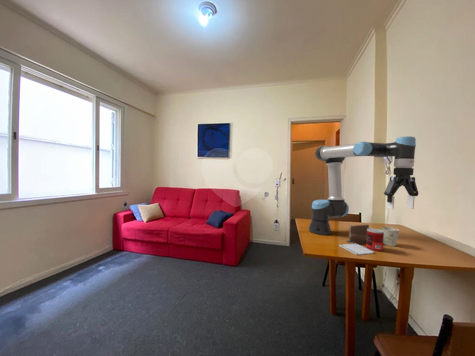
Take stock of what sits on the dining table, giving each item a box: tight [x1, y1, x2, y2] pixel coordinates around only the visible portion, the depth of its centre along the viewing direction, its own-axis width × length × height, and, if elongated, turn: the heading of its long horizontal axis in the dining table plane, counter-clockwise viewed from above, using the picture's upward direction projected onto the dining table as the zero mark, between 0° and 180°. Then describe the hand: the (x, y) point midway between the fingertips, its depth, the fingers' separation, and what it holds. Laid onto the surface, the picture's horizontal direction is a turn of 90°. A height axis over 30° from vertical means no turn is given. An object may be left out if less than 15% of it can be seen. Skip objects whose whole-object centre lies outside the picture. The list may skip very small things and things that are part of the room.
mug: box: [381, 226, 400, 247], centre depth 112 cm, size 8×13×10 cm, turn 78°
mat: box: [338, 243, 376, 256], centre depth 103 cm, size 12×12×1 cm
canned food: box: [365, 227, 384, 252], centre depth 105 cm, size 8×8×11 cm
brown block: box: [345, 224, 370, 244], centre depth 114 cm, size 5×14×11 cm, turn 103°
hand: (400, 208), depth 93 cm, fingers open, 13 cm apart
